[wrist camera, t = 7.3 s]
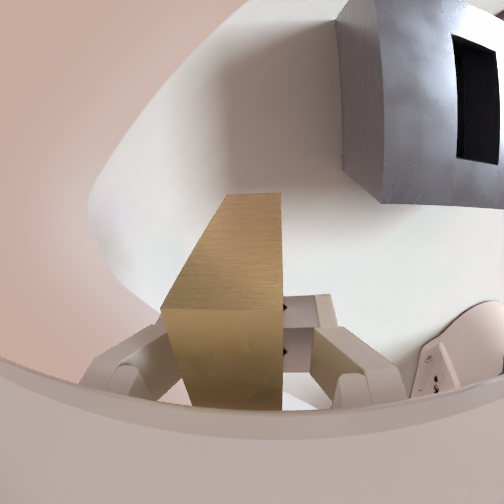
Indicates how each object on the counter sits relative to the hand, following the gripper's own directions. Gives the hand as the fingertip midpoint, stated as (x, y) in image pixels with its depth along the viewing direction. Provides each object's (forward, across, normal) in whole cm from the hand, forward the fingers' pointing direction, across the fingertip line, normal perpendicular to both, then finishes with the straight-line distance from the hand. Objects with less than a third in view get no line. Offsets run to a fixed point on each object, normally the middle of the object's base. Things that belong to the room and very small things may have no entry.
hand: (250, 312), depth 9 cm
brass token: (+3, 0, 0) cm, 3 cm away
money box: (+18, -14, -8) cm, 24 cm away
